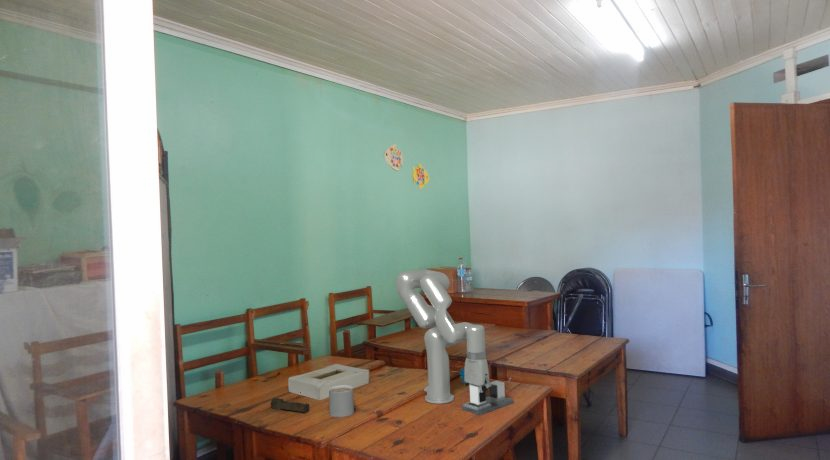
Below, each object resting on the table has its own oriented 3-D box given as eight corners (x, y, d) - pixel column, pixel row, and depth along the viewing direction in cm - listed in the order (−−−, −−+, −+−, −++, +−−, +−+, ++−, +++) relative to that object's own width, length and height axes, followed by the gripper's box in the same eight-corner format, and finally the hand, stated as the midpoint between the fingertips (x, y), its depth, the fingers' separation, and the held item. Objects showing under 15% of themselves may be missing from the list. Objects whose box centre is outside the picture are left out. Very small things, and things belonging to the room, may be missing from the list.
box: (320, 402, 231) (370, 383, 256) (319, 384, 231) (369, 367, 256) (287, 394, 245) (337, 377, 271) (286, 377, 246) (336, 362, 271)
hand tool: (310, 411, 217) (310, 400, 217) (304, 415, 214) (303, 403, 214) (275, 406, 226) (275, 395, 226) (268, 409, 222) (268, 398, 222)
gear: (466, 385, 241) (457, 367, 247) (459, 392, 244) (450, 374, 250) (483, 383, 248) (474, 366, 254) (476, 390, 251) (467, 373, 257)
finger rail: (461, 409, 213) (460, 388, 213) (495, 397, 227) (494, 378, 227) (479, 415, 206) (478, 394, 206) (513, 402, 219) (512, 382, 219)
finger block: (470, 402, 213) (469, 385, 213) (479, 399, 216) (478, 382, 216) (478, 404, 209) (477, 387, 209) (487, 401, 213) (486, 384, 213)
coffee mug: (343, 418, 207) (342, 393, 207) (324, 414, 213) (323, 390, 213) (364, 408, 218) (363, 384, 219) (345, 405, 224) (345, 381, 224)
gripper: (455, 354, 217) (457, 398, 216) (485, 360, 204) (487, 407, 204) (467, 350, 221) (469, 393, 221) (498, 356, 209) (499, 402, 208)
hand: (478, 399), depth 212 cm, fingers closed on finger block, 4 cm apart
